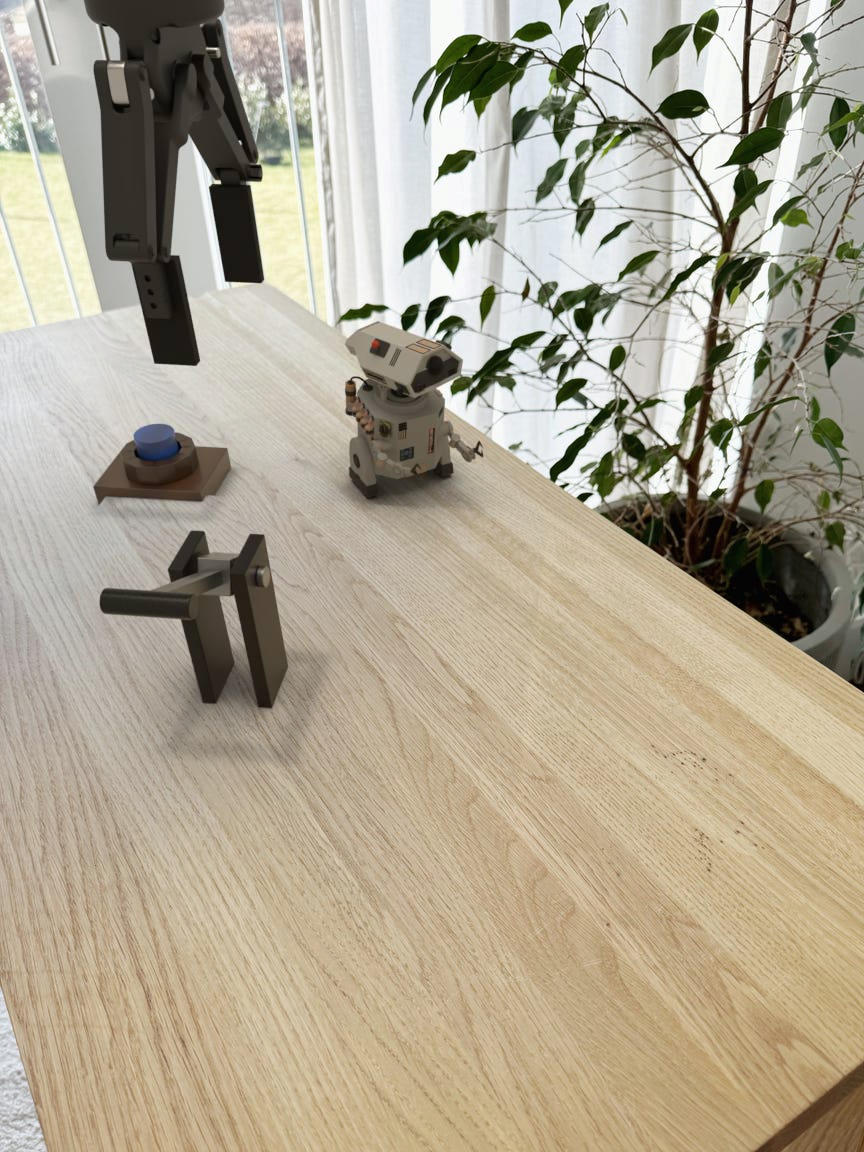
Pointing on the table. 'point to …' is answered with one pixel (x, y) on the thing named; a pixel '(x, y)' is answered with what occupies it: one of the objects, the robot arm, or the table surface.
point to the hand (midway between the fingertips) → (213, 319)
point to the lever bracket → (254, 614)
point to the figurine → (400, 406)
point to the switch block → (165, 473)
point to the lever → (174, 592)
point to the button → (155, 442)
